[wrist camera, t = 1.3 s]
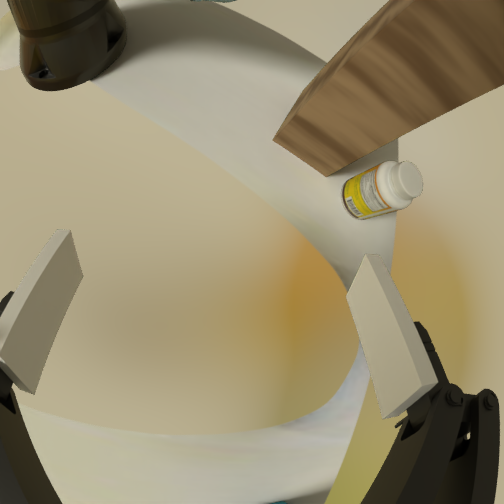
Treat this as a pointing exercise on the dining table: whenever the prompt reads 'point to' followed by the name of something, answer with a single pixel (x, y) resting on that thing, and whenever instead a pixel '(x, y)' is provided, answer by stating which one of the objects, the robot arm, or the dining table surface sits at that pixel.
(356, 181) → the supplement bottle
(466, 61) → the walnut stand
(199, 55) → the dining table surface
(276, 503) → the block
